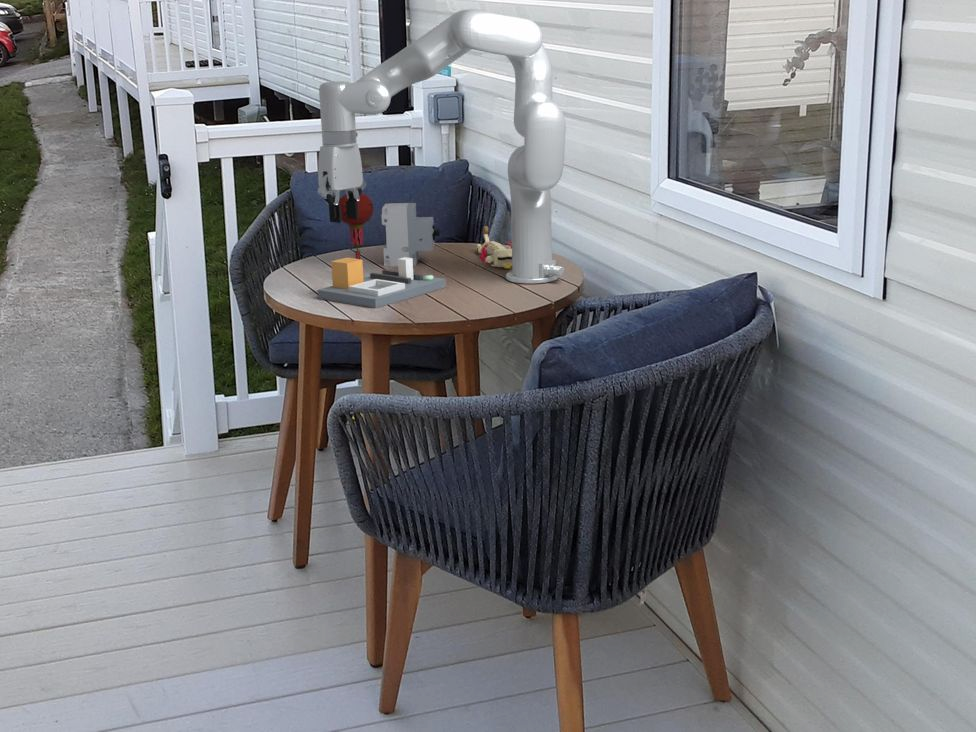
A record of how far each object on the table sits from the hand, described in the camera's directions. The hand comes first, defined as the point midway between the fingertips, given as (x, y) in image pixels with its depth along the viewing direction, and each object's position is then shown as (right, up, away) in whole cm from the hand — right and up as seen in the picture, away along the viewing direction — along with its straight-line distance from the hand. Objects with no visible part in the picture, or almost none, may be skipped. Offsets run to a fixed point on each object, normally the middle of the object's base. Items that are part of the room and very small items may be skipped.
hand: (344, 219), depth 264 cm
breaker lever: (+13, -13, +9) cm, 20 cm away
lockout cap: (0, -15, +4) cm, 15 cm away
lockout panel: (+8, -16, +6) cm, 19 cm away
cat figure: (+35, -6, +38) cm, 52 cm away
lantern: (-1, -8, +34) cm, 35 cm away
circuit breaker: (+13, -7, +39) cm, 41 cm away
